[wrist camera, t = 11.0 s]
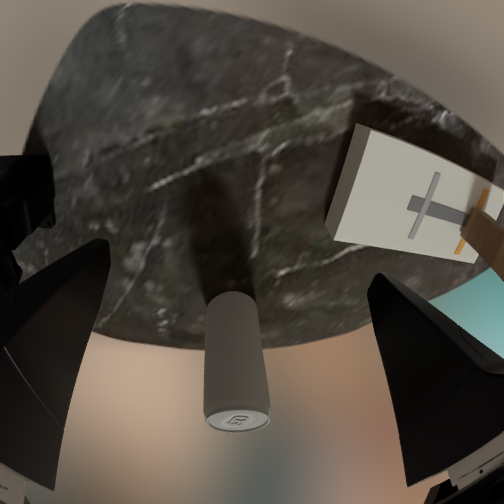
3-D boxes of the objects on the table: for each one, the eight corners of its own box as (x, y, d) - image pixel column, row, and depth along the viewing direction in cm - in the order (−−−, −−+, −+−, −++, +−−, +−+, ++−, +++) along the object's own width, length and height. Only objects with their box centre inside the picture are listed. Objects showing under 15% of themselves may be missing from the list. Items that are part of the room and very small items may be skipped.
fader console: (324, 223, 24) (334, 240, 21) (356, 123, 19) (371, 130, 17) (461, 250, 27) (474, 264, 24) (492, 182, 22) (508, 193, 20)
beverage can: (200, 316, 28) (195, 429, 18) (217, 281, 26) (216, 404, 16) (244, 327, 30) (254, 435, 20) (265, 295, 27) (284, 413, 18)
